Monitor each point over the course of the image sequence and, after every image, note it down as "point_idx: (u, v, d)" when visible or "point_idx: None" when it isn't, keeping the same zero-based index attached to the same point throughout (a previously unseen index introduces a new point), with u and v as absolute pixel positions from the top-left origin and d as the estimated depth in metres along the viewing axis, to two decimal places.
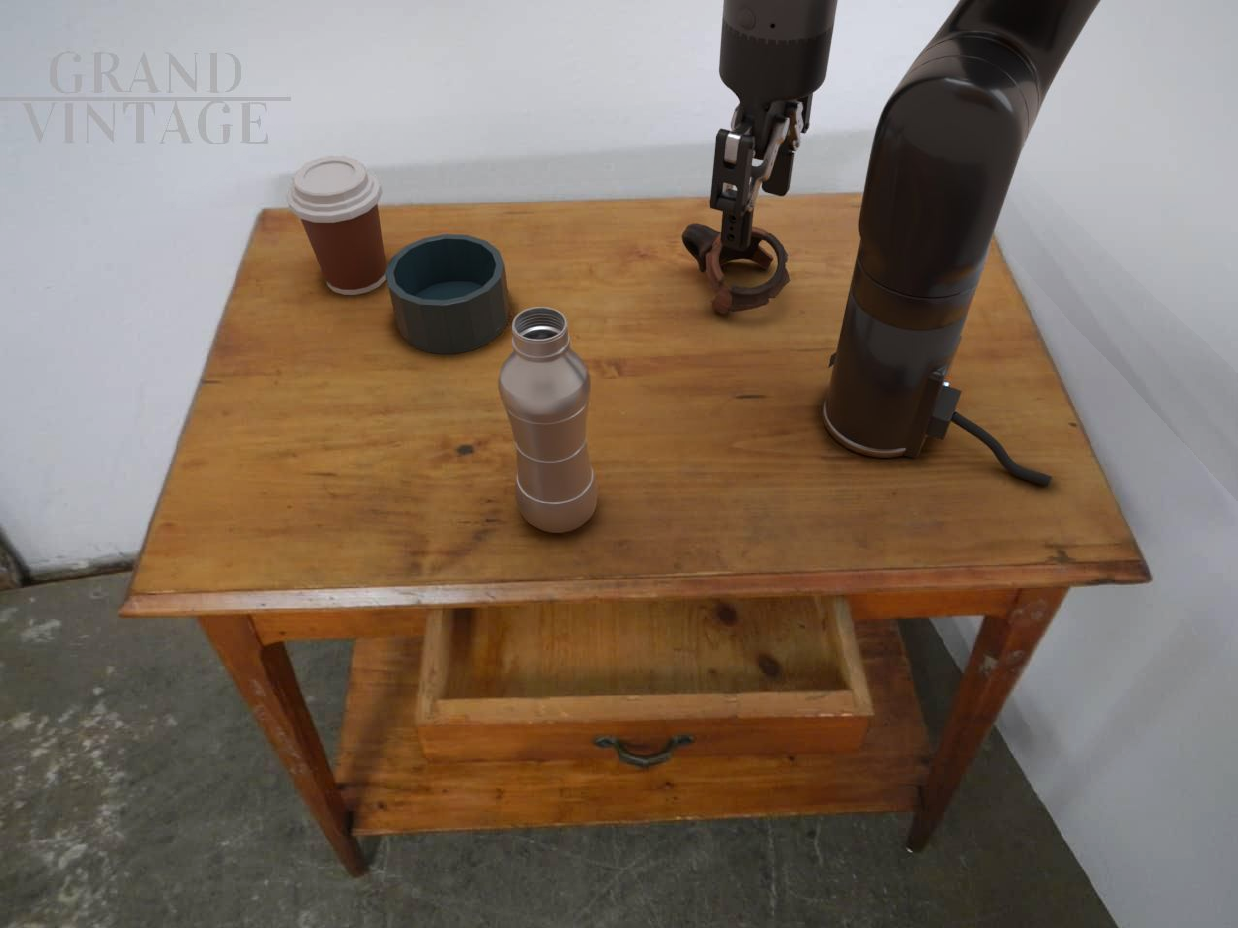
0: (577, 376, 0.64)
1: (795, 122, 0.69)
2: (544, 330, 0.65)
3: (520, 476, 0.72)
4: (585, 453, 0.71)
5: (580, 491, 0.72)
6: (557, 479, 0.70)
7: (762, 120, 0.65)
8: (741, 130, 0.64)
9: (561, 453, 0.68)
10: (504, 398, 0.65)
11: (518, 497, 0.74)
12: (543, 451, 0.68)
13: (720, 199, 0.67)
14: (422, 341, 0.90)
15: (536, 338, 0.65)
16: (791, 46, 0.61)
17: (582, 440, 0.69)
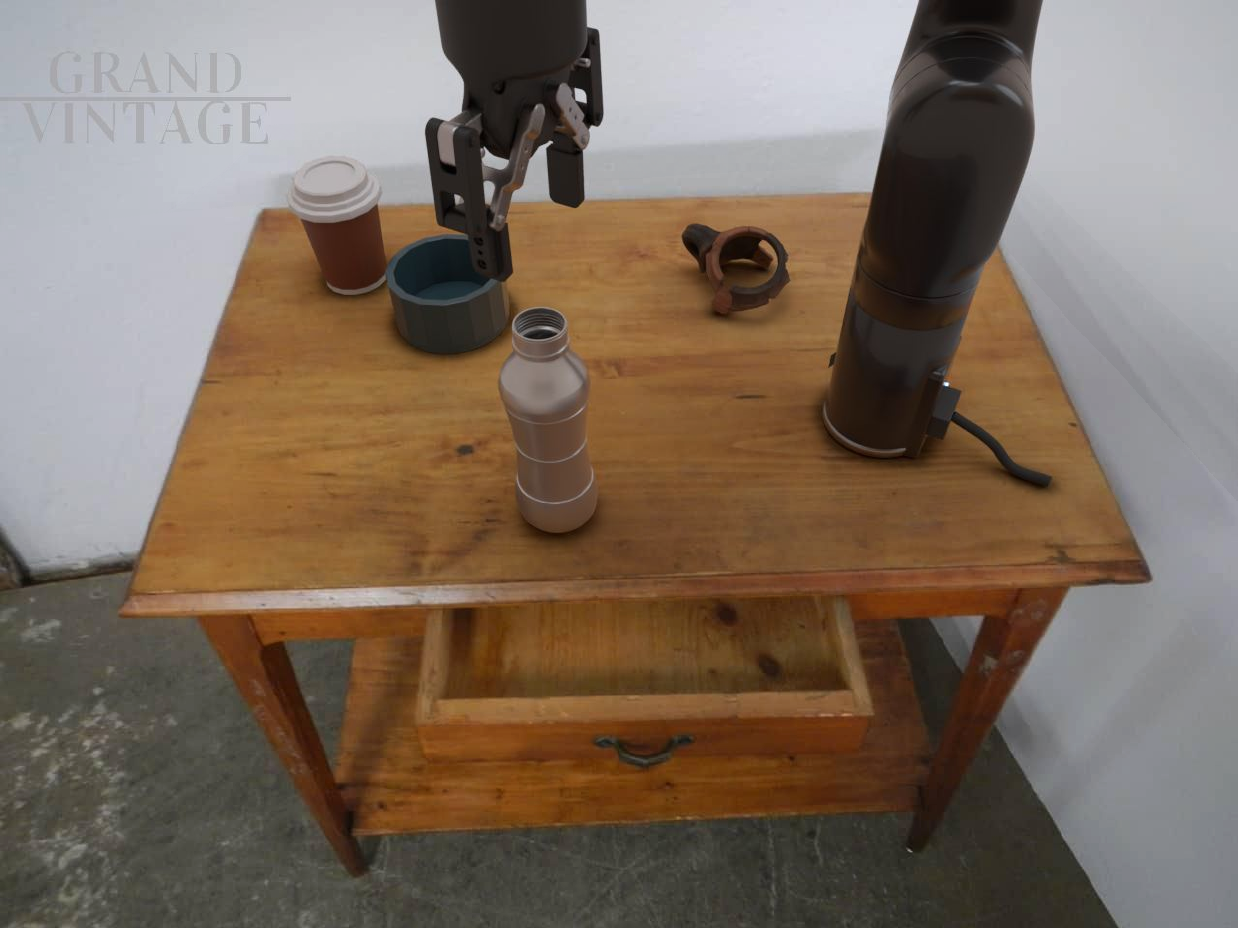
0: (577, 376, 0.64)
1: (561, 110, 0.51)
2: (544, 330, 0.65)
3: (520, 476, 0.72)
4: (585, 453, 0.71)
5: (580, 491, 0.72)
6: (557, 479, 0.70)
7: (494, 106, 0.47)
8: (462, 120, 0.46)
9: (561, 453, 0.68)
10: (504, 398, 0.65)
11: (518, 497, 0.74)
12: (543, 451, 0.68)
13: (449, 214, 0.49)
14: (422, 341, 0.90)
15: (536, 338, 0.65)
16: (512, 1, 0.43)
17: (582, 440, 0.69)
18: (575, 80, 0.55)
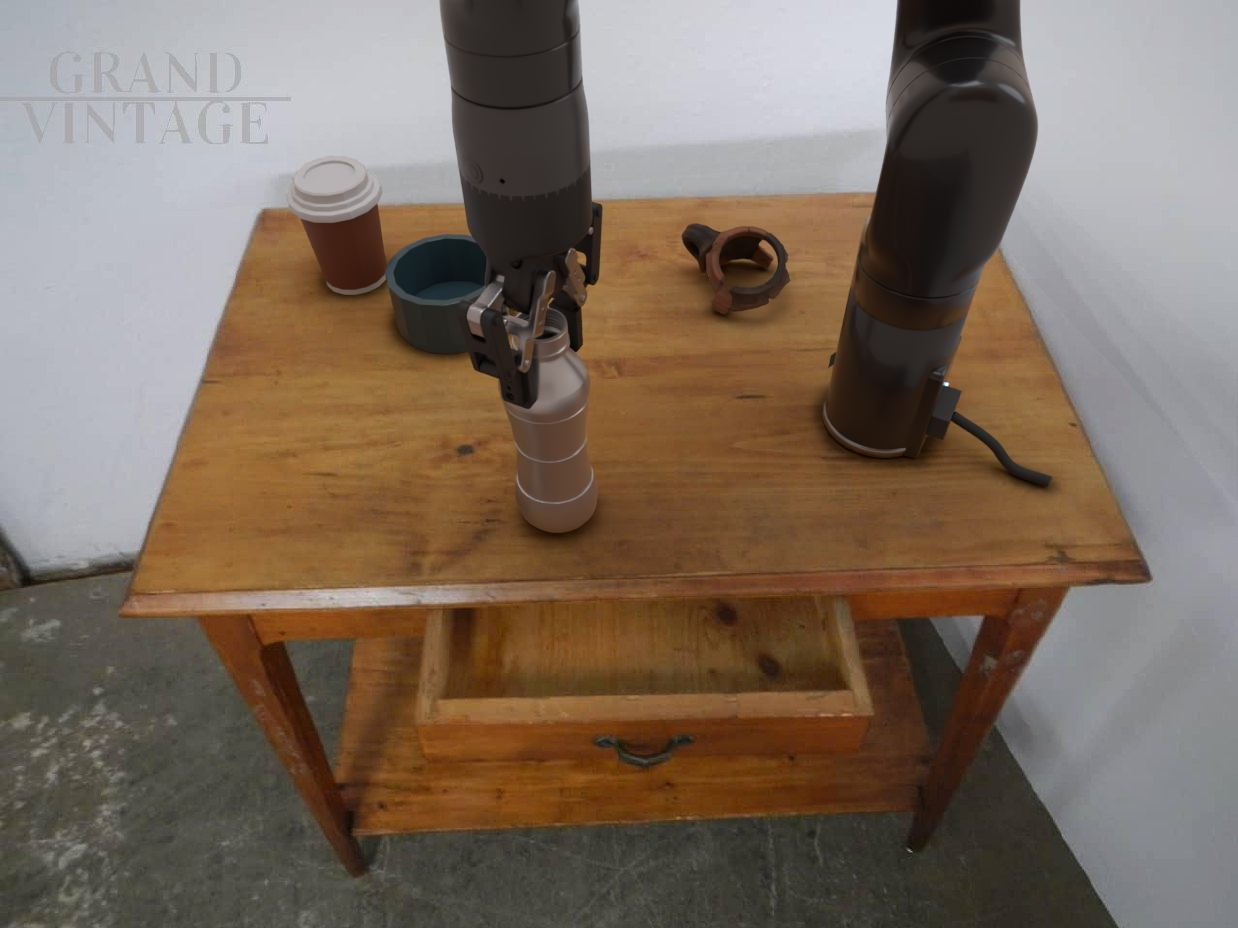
0: (577, 376, 0.64)
1: (568, 271, 0.59)
2: (544, 330, 0.65)
3: (520, 476, 0.72)
4: (585, 453, 0.71)
5: (580, 491, 0.72)
6: (557, 479, 0.70)
7: (512, 282, 0.55)
8: (486, 299, 0.55)
9: (561, 453, 0.68)
10: None
11: (518, 497, 0.74)
12: (543, 451, 0.68)
13: (484, 363, 0.58)
14: (422, 341, 0.90)
15: (536, 338, 0.65)
16: (529, 202, 0.51)
17: (582, 440, 0.69)
18: (578, 244, 0.63)
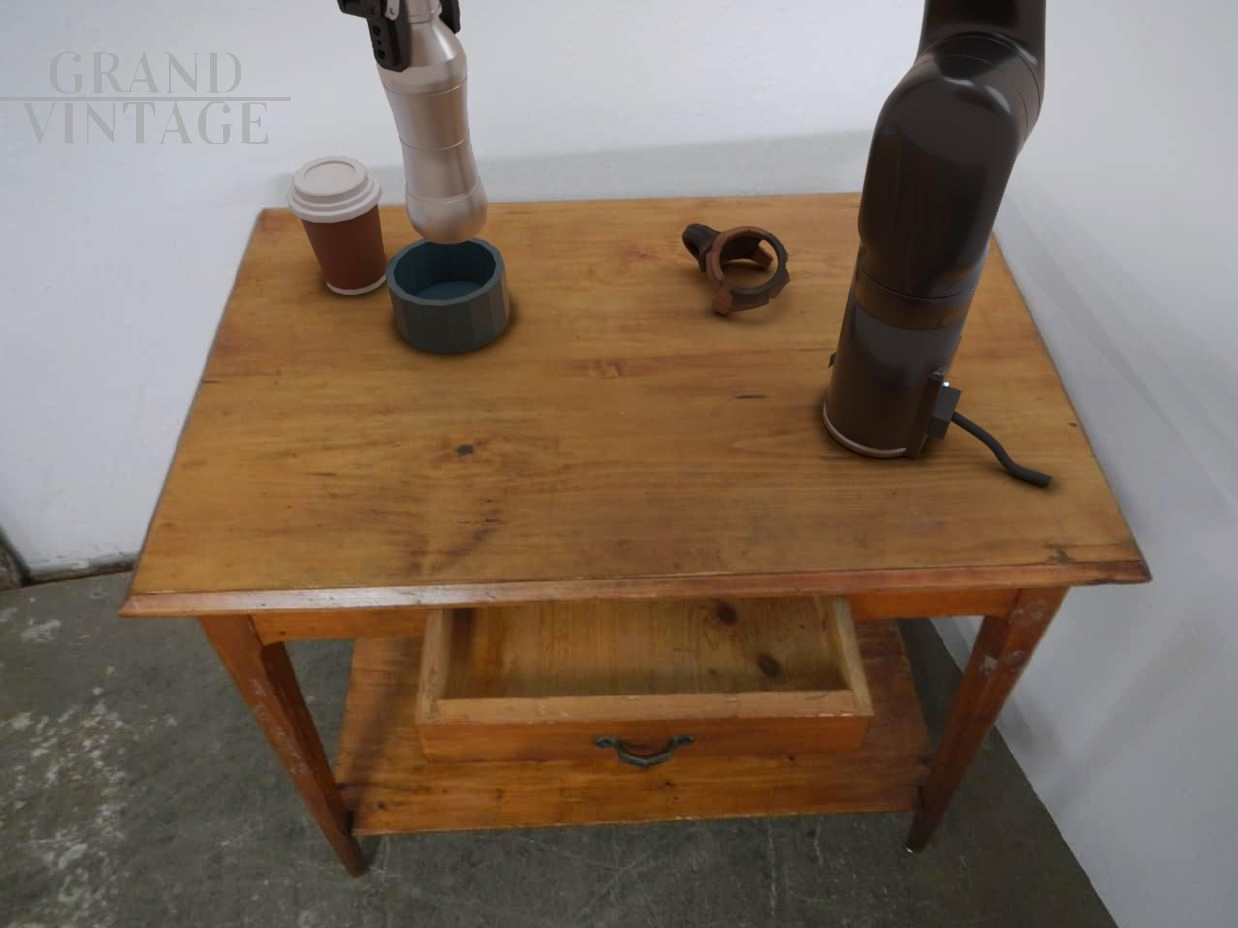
0: (450, 46, 0.66)
1: None
2: None
3: (407, 177, 0.74)
4: (468, 150, 0.73)
5: (466, 193, 0.74)
6: (440, 173, 0.72)
7: None
8: None
9: (441, 139, 0.70)
10: (380, 71, 0.67)
11: (407, 204, 0.76)
12: (423, 135, 0.70)
13: (348, 0, 0.60)
14: (422, 341, 0.90)
15: None
16: None
17: (463, 130, 0.71)
18: None
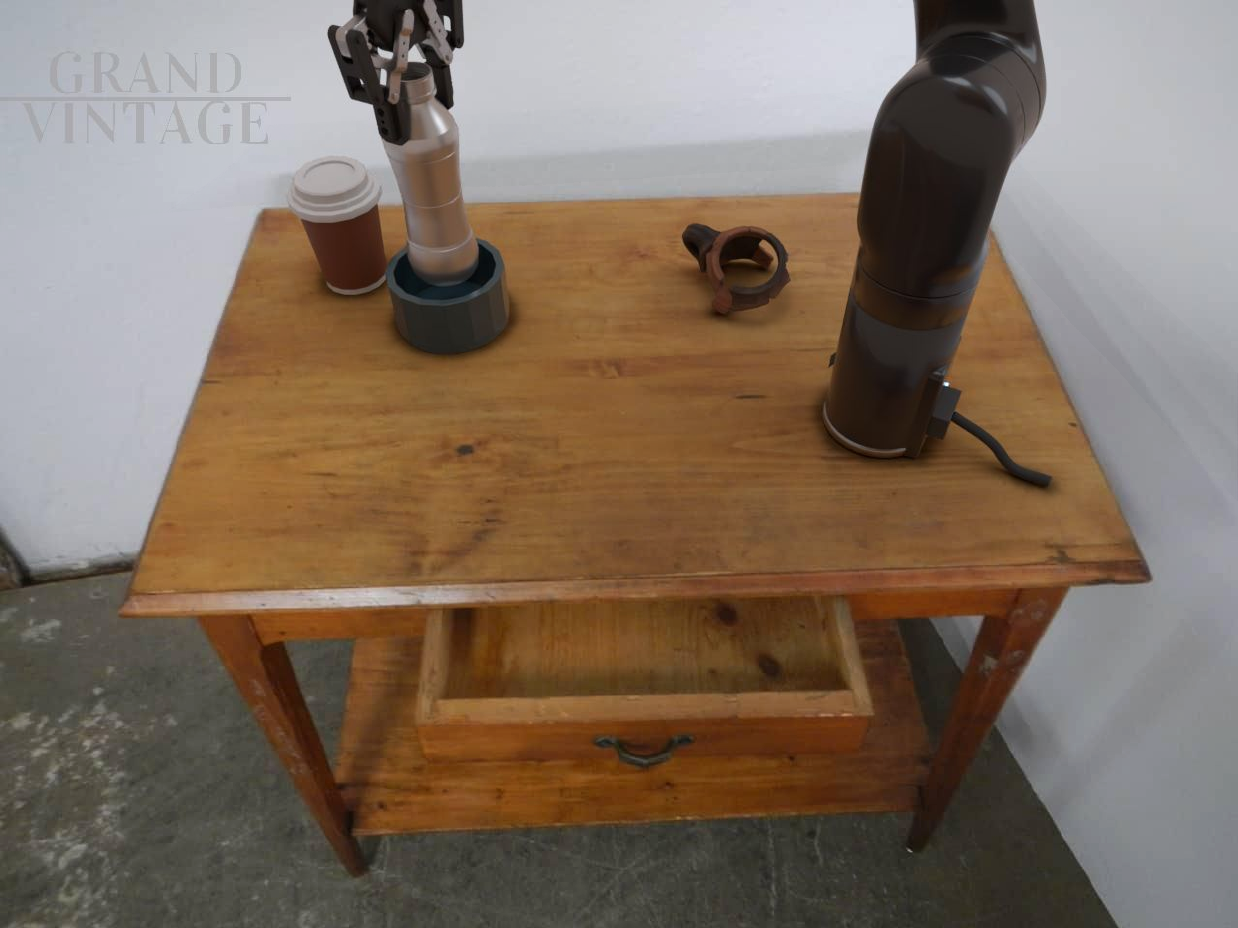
0: (444, 122, 0.77)
1: (427, 18, 0.72)
2: None
3: (407, 229, 0.85)
4: (461, 206, 0.84)
5: (459, 243, 0.85)
6: (436, 226, 0.83)
7: (373, 11, 0.68)
8: (351, 24, 0.68)
9: (437, 198, 0.81)
10: (384, 142, 0.78)
11: (408, 252, 0.87)
12: (421, 195, 0.81)
13: (356, 89, 0.71)
14: (422, 341, 0.90)
15: None
16: None
17: (456, 190, 0.82)
18: (442, 9, 0.76)
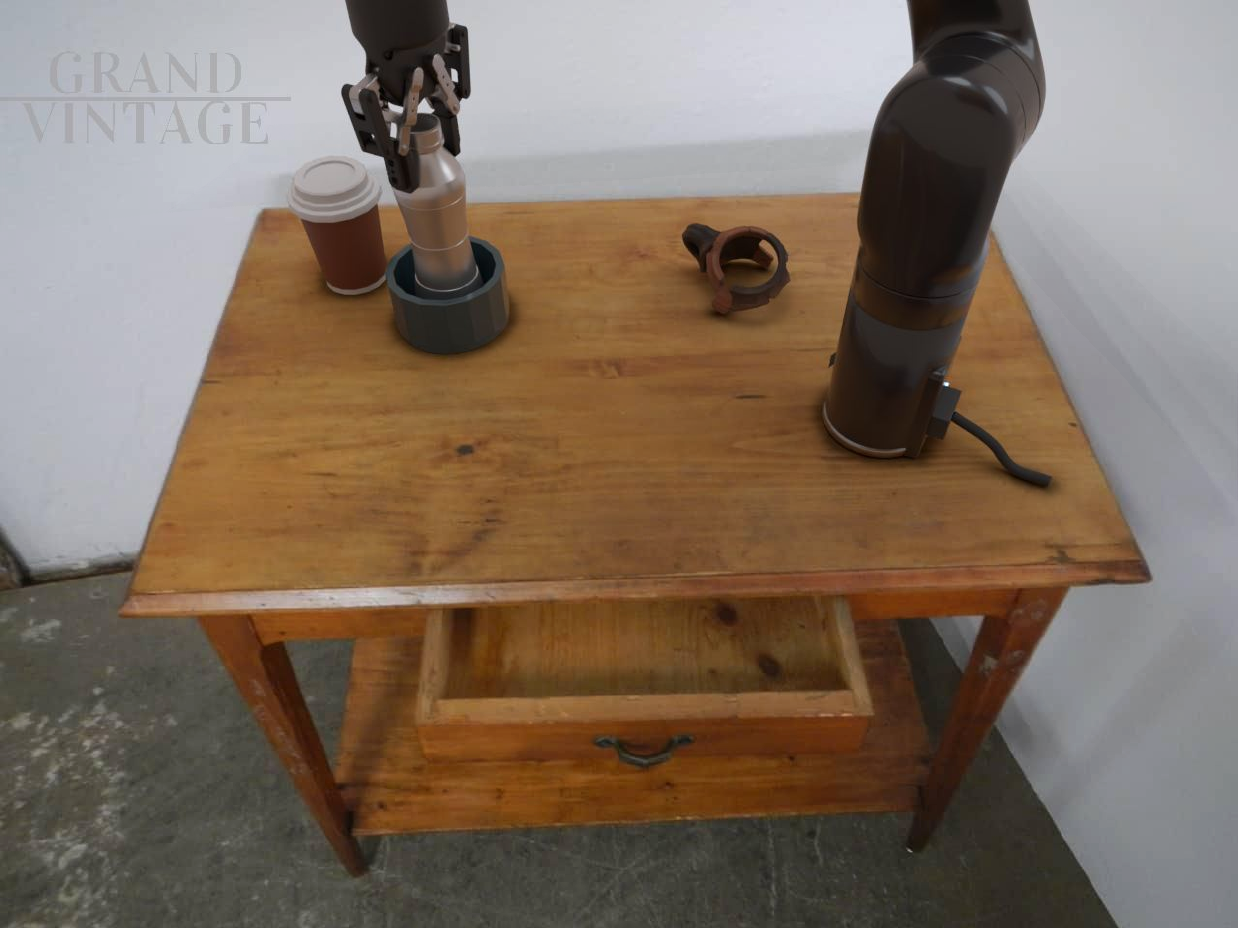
0: (451, 170, 0.81)
1: (436, 73, 0.75)
2: None
3: (416, 269, 0.88)
4: (467, 248, 0.87)
5: (465, 282, 0.89)
6: (444, 267, 0.87)
7: (385, 71, 0.71)
8: (364, 83, 0.71)
9: (444, 241, 0.84)
10: (394, 189, 0.81)
11: (416, 290, 0.90)
12: (429, 239, 0.84)
13: (368, 143, 0.74)
14: (422, 341, 0.90)
15: None
16: None
17: (462, 233, 0.85)
18: (450, 62, 0.79)
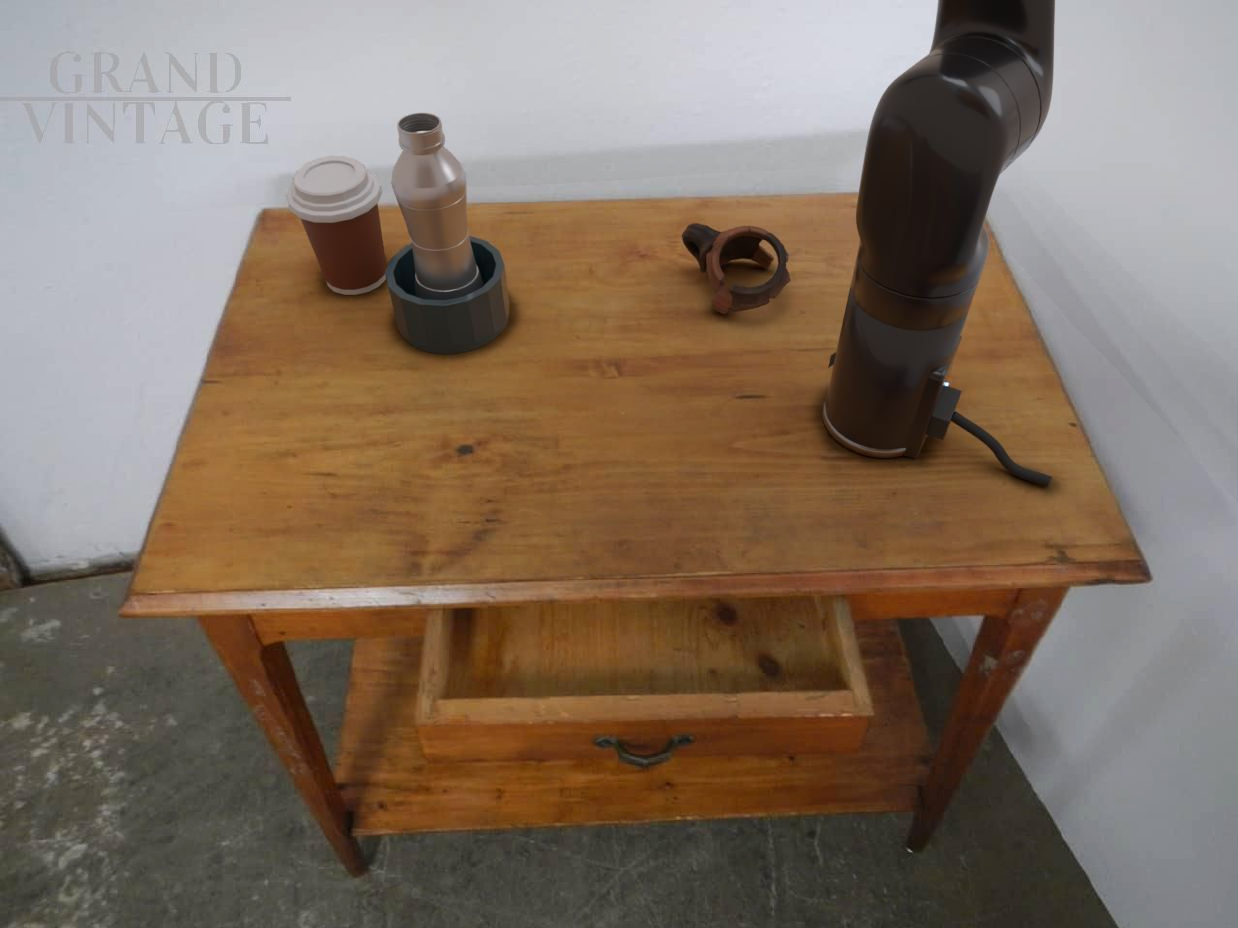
0: (452, 170, 0.81)
1: None
2: None
3: (416, 269, 0.88)
4: (468, 248, 0.87)
5: (466, 283, 0.89)
6: (444, 267, 0.87)
7: None
8: None
9: (445, 241, 0.84)
10: (395, 189, 0.81)
11: (416, 290, 0.90)
12: (429, 239, 0.84)
13: None
14: (422, 341, 0.90)
15: None
16: None
17: (463, 233, 0.85)
18: None
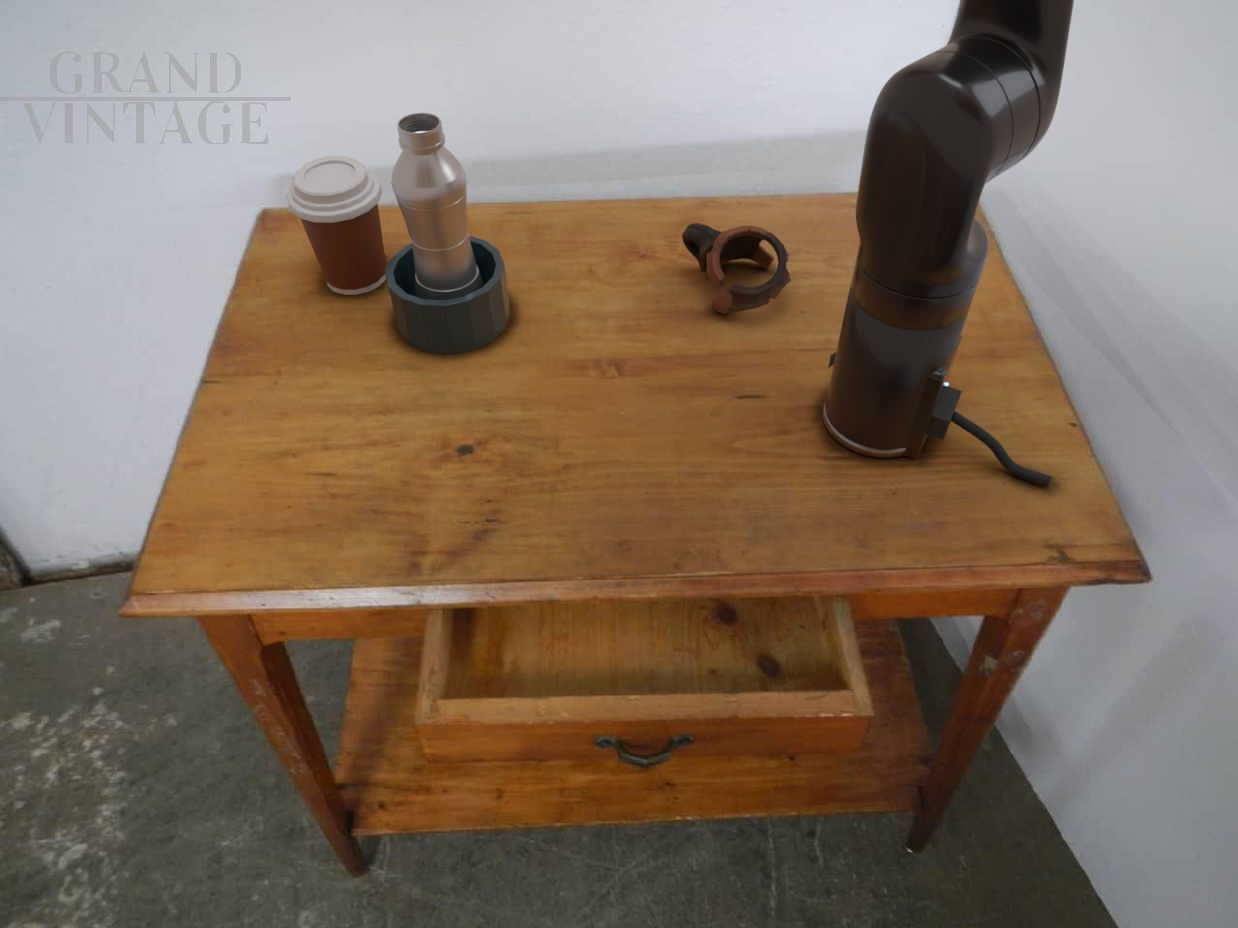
0: (452, 170, 0.81)
1: None
2: None
3: (416, 269, 0.88)
4: (468, 248, 0.87)
5: (466, 283, 0.89)
6: (444, 267, 0.87)
7: None
8: None
9: (445, 241, 0.84)
10: (395, 189, 0.81)
11: (416, 290, 0.90)
12: (429, 239, 0.84)
13: None
14: (422, 341, 0.90)
15: None
16: None
17: (463, 233, 0.85)
18: None
